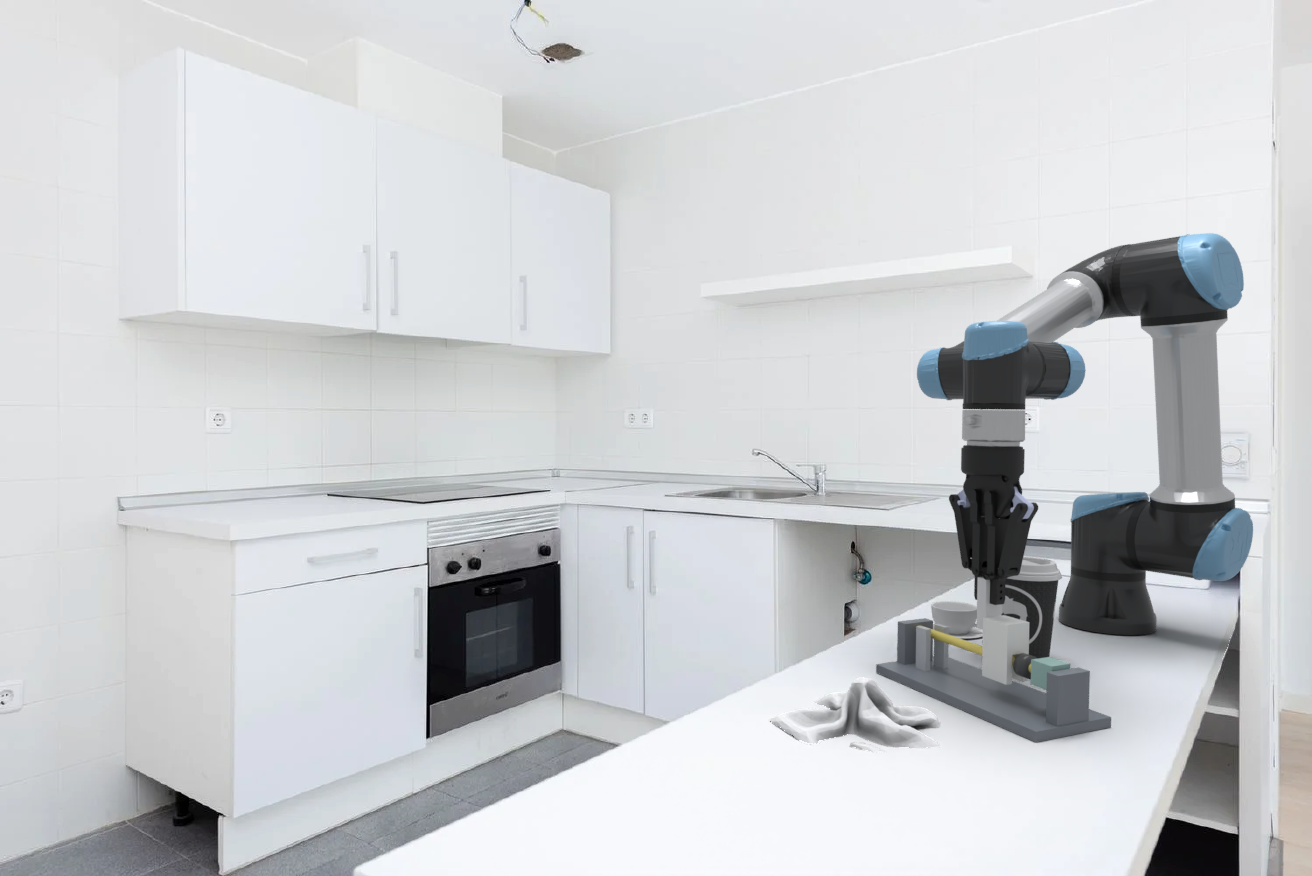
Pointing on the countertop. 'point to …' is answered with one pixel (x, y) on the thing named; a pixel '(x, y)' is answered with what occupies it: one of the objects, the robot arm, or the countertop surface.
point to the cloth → (861, 719)
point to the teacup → (957, 618)
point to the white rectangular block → (1003, 647)
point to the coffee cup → (1034, 601)
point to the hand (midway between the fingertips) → (988, 627)
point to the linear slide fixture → (995, 685)
